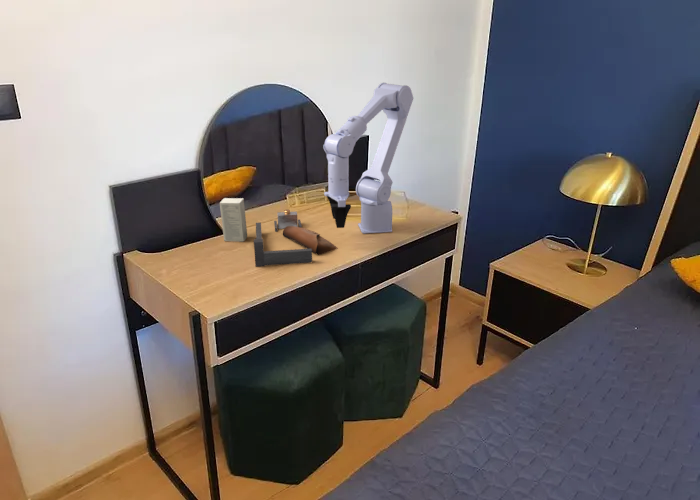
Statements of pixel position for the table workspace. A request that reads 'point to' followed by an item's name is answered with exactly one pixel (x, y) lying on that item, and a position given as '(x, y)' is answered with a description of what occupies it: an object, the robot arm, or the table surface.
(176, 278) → the table surface
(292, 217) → the silver metal block
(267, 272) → the table surface
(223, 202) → the skincare box
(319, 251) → the sunglasses case
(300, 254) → the press frame
